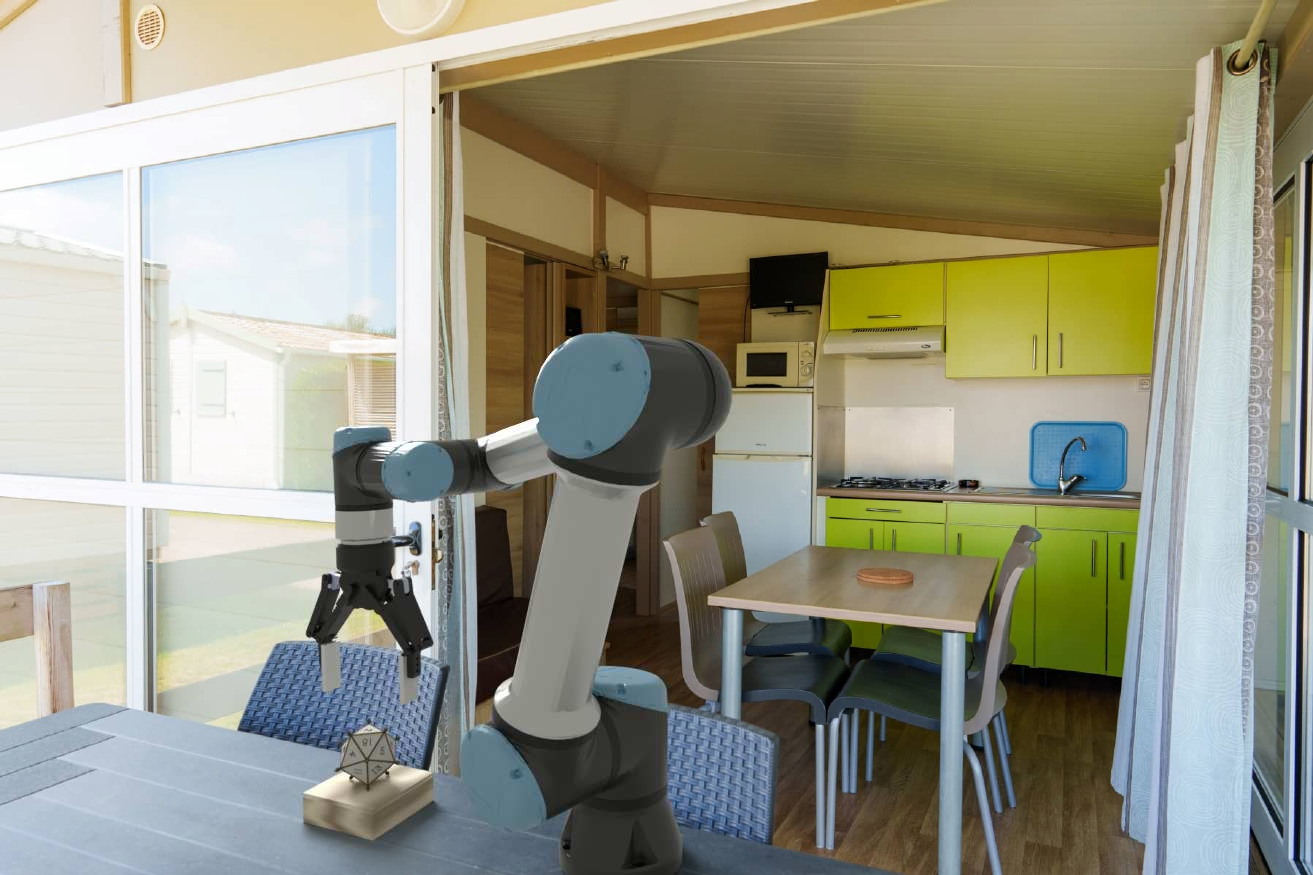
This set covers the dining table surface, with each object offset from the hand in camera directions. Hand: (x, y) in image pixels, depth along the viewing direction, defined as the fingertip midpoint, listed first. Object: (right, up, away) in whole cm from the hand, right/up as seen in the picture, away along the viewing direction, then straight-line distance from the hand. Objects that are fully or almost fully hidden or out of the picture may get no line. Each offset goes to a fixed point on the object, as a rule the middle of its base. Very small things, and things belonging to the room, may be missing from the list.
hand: (369, 695), depth 116 cm
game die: (0, -12, +1) cm, 12 cm away
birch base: (0, -16, +1) cm, 16 cm away
